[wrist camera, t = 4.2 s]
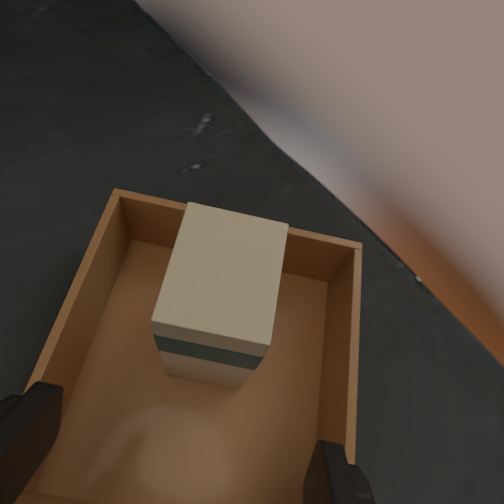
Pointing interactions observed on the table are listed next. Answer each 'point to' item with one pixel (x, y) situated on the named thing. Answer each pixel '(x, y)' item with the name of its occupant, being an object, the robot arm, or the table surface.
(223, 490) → the box
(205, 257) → the carton
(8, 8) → the table surface
